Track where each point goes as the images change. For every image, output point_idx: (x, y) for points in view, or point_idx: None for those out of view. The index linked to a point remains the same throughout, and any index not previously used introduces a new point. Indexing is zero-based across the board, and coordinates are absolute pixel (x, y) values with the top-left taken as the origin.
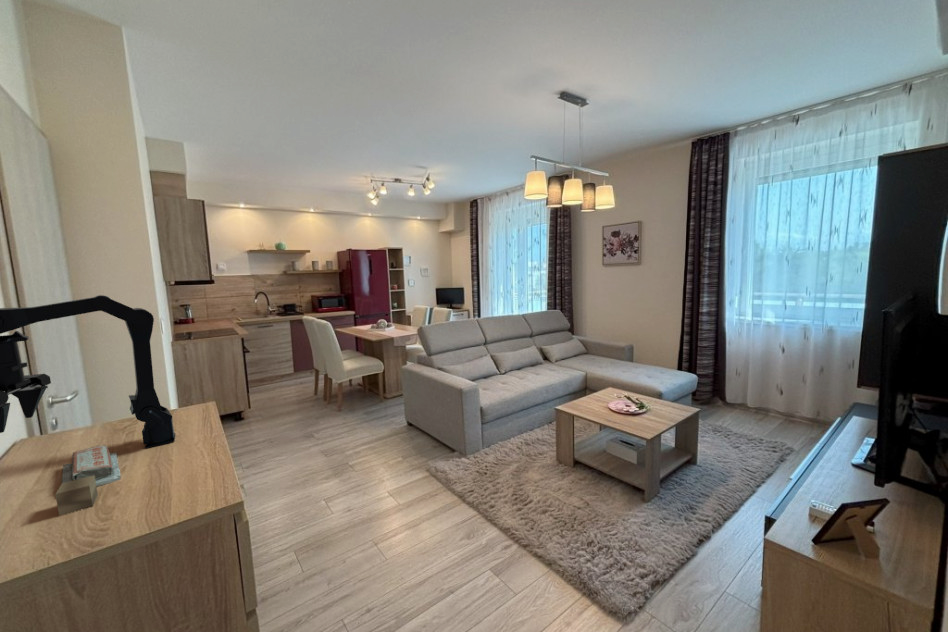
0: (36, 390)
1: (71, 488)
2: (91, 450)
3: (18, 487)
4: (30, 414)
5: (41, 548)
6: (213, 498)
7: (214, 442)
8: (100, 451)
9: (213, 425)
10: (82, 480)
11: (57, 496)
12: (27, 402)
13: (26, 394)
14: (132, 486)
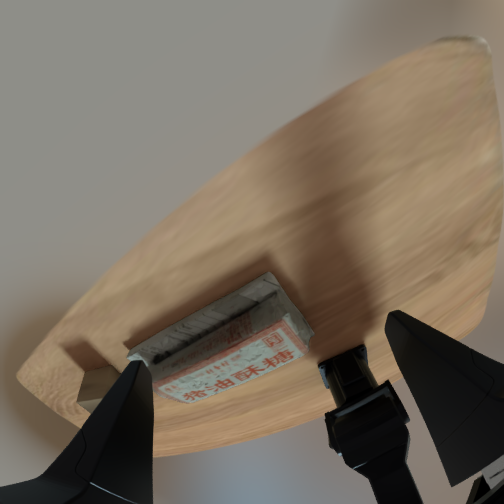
0: (459, 476)
1: (92, 411)
2: (274, 353)
3: (180, 231)
4: (392, 344)
5: (41, 382)
6: None
7: (292, 424)
8: (261, 370)
9: None
10: None
11: (78, 399)
12: (444, 399)
13: (476, 443)
14: (160, 408)
